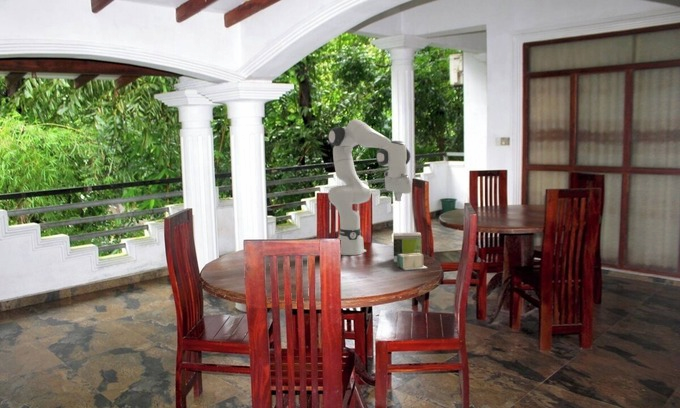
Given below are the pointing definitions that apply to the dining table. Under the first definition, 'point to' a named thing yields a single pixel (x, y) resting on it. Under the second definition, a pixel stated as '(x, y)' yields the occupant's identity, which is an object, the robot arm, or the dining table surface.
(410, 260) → the beech block
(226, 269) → the dining table surface
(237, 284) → the dining table surface
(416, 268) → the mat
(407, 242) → the tea box
